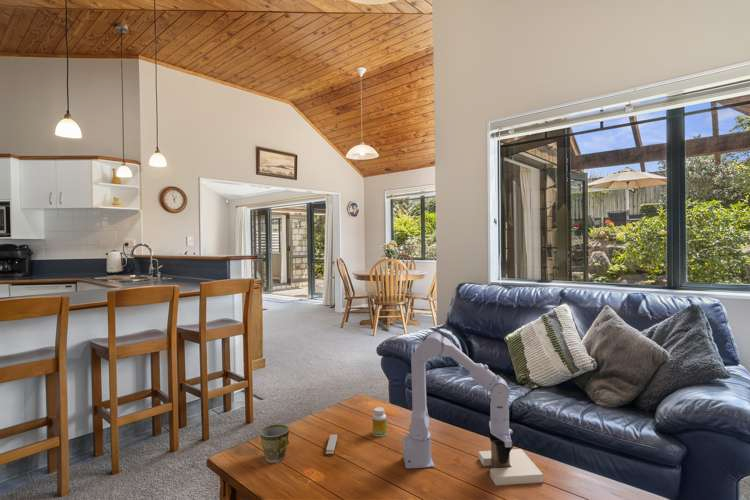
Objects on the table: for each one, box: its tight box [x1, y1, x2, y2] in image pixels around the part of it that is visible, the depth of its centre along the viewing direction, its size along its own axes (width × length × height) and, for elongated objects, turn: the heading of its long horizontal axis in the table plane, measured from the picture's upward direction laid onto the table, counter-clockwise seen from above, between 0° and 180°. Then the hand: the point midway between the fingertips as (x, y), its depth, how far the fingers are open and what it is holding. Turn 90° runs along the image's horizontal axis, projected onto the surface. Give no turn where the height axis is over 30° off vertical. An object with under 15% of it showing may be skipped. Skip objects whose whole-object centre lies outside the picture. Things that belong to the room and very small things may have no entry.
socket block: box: [478, 448, 544, 486], centre depth 133 cm, size 15×16×2 cm
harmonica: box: [324, 434, 339, 457], centre depth 152 cm, size 15×3×2 cm, turn 179°
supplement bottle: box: [372, 406, 388, 438], centre depth 160 cm, size 5×5×10 cm
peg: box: [490, 440, 510, 469], centre depth 133 cm, size 4×4×9 cm
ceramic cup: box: [259, 423, 290, 464], centre depth 142 cm, size 13×10×10 cm
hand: (500, 458), depth 133 cm, fingers open, 5 cm apart
